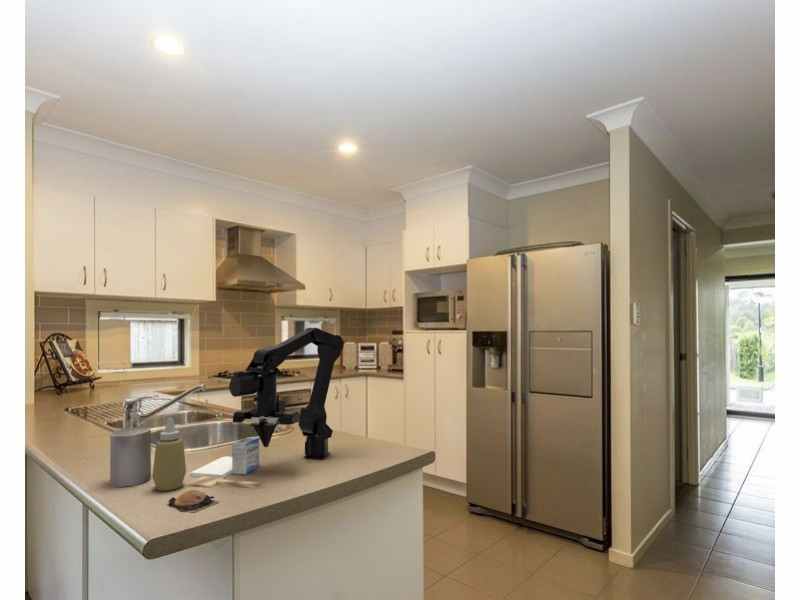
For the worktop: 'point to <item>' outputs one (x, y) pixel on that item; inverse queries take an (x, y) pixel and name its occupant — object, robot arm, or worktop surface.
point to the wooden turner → (221, 483)
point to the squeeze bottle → (169, 459)
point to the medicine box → (245, 455)
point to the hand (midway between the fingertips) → (266, 446)
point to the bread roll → (192, 501)
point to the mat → (215, 468)
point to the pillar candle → (130, 456)
